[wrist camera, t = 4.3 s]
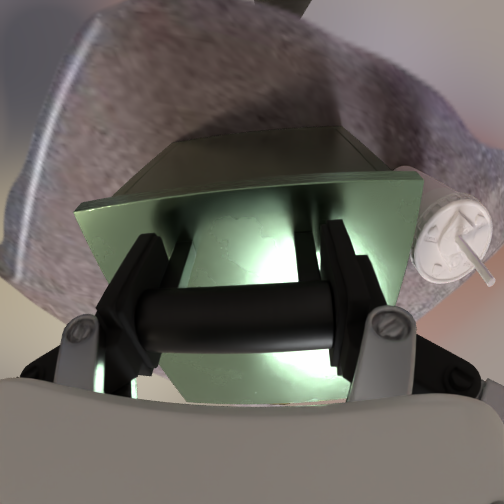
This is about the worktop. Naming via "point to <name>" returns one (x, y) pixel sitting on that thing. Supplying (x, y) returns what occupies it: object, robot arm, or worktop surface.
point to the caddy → (254, 157)
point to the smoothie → (449, 233)
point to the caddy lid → (254, 275)
